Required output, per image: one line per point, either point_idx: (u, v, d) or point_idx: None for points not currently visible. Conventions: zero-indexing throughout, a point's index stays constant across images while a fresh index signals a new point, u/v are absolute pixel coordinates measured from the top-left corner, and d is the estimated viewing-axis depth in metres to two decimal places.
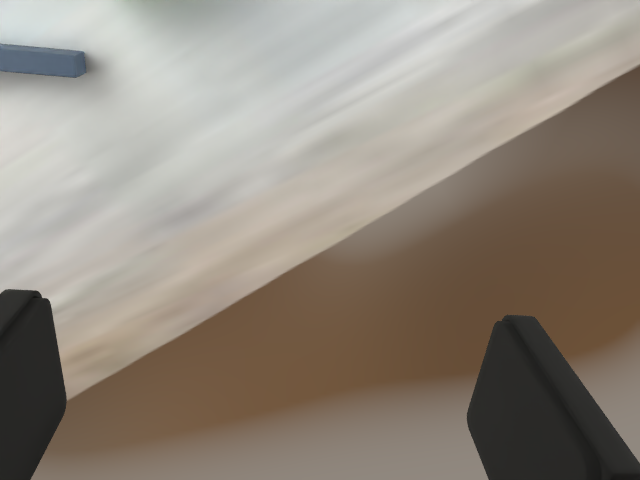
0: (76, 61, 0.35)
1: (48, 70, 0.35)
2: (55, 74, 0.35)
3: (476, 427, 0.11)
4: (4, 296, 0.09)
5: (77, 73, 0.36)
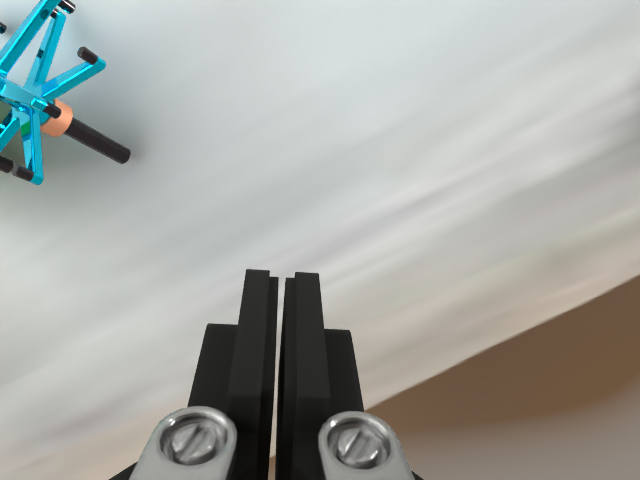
0: None
1: None
2: None
3: (278, 380, 0.12)
4: (250, 274, 0.11)
5: None
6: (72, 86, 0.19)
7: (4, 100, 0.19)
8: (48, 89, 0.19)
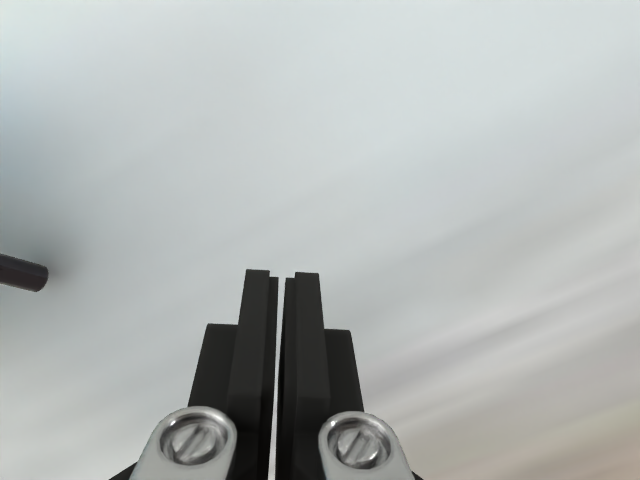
0: None
1: None
2: None
3: (278, 381, 0.12)
4: (250, 274, 0.11)
5: None
6: None
7: None
8: None
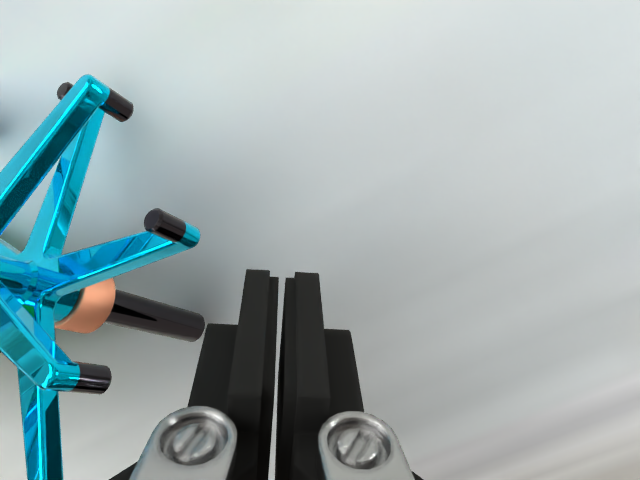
0: None
1: None
2: None
3: (278, 381, 0.12)
4: (250, 274, 0.11)
5: None
6: (124, 271, 0.09)
7: None
8: (74, 273, 0.09)
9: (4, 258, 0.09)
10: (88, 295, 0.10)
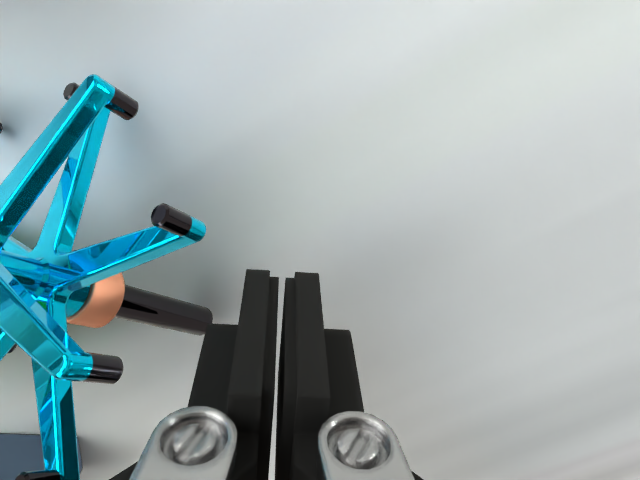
0: None
1: None
2: None
3: (278, 380, 0.12)
4: (250, 274, 0.11)
5: None
6: (133, 266, 0.09)
7: None
8: (84, 269, 0.09)
9: (16, 255, 0.10)
10: (98, 290, 0.11)
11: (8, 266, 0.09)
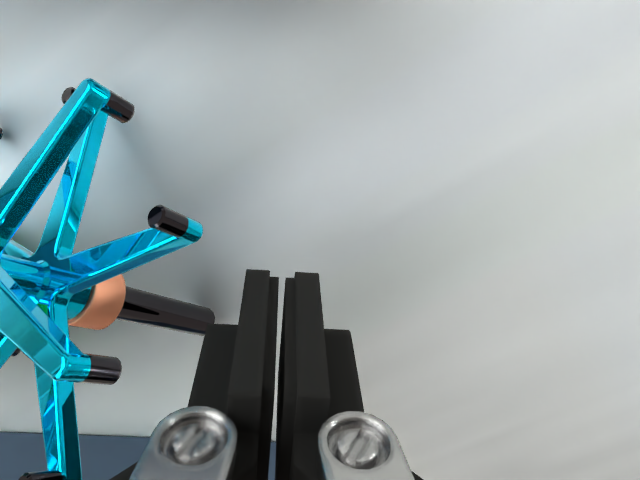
0: None
1: None
2: None
3: (278, 381, 0.12)
4: (250, 274, 0.11)
5: None
6: (132, 267, 0.09)
7: None
8: (84, 271, 0.09)
9: (17, 259, 0.10)
10: (99, 292, 0.11)
11: (9, 270, 0.09)
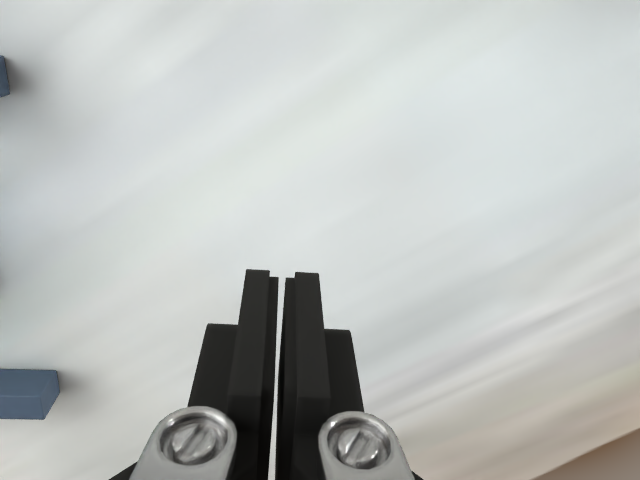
0: (44, 399, 0.25)
1: (4, 414, 0.25)
2: (14, 417, 0.25)
3: (278, 380, 0.12)
4: (250, 274, 0.11)
5: (46, 412, 0.26)
6: None
7: None
8: None
9: None
10: None
11: None
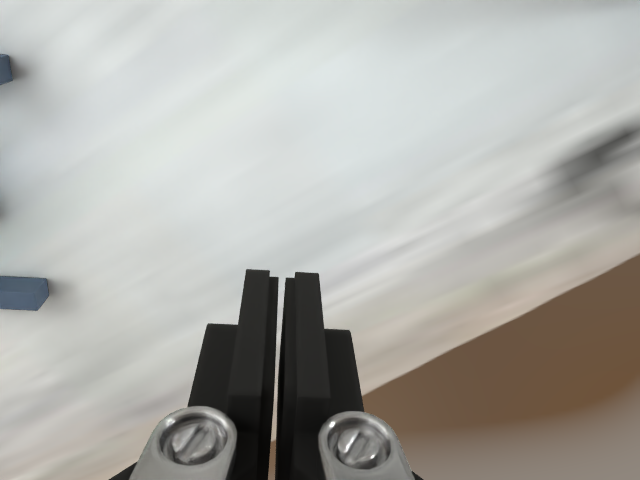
0: (37, 296, 0.36)
1: (9, 305, 0.36)
2: (16, 308, 0.36)
3: (278, 380, 0.12)
4: (250, 274, 0.11)
5: (38, 305, 0.36)
6: None
7: None
8: None
9: None
10: None
11: None
